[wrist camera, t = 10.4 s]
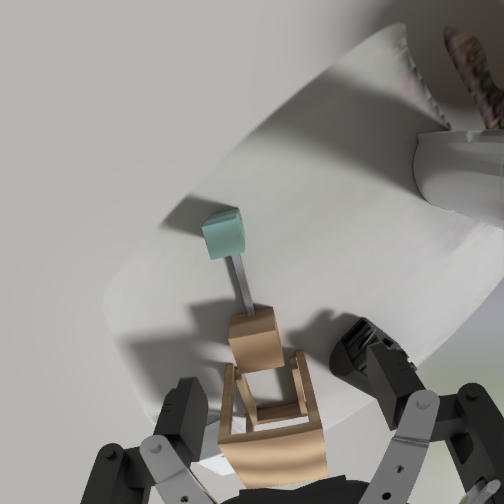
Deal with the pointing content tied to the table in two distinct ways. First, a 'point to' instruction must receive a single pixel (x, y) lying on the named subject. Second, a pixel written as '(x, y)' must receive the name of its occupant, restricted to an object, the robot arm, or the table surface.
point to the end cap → (359, 354)
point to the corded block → (252, 322)
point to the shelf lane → (274, 435)
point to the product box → (216, 449)
